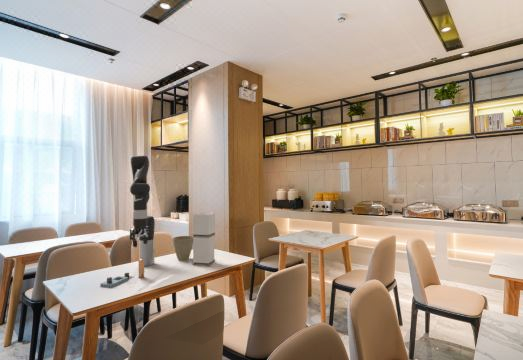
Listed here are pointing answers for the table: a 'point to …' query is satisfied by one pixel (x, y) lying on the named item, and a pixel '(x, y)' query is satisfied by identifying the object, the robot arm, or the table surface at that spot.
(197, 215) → the tall lidded box
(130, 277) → the lower chain link
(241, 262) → the table surface
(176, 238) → the plant pot
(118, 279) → the upper chain link
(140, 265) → the copper pin
